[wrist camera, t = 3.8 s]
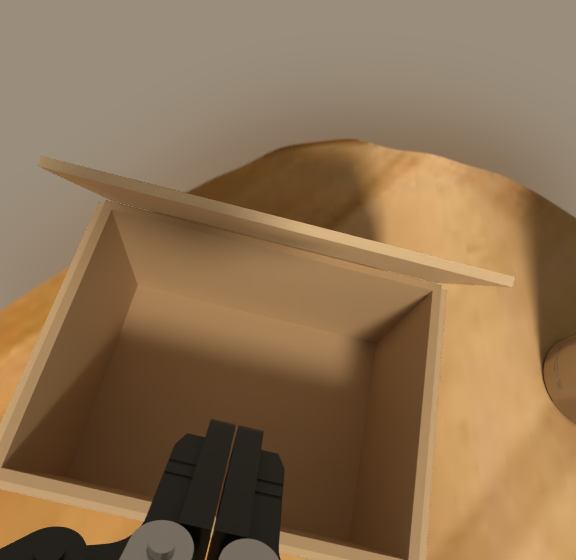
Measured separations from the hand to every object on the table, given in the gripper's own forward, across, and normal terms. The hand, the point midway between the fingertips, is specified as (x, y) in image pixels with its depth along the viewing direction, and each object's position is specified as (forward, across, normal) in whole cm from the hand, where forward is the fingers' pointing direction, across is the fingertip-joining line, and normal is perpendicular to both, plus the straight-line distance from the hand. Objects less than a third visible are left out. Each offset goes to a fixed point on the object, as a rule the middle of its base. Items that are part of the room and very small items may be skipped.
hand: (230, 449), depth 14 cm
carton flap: (+17, 0, -2) cm, 17 cm away
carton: (+25, 0, +17) cm, 30 cm away
